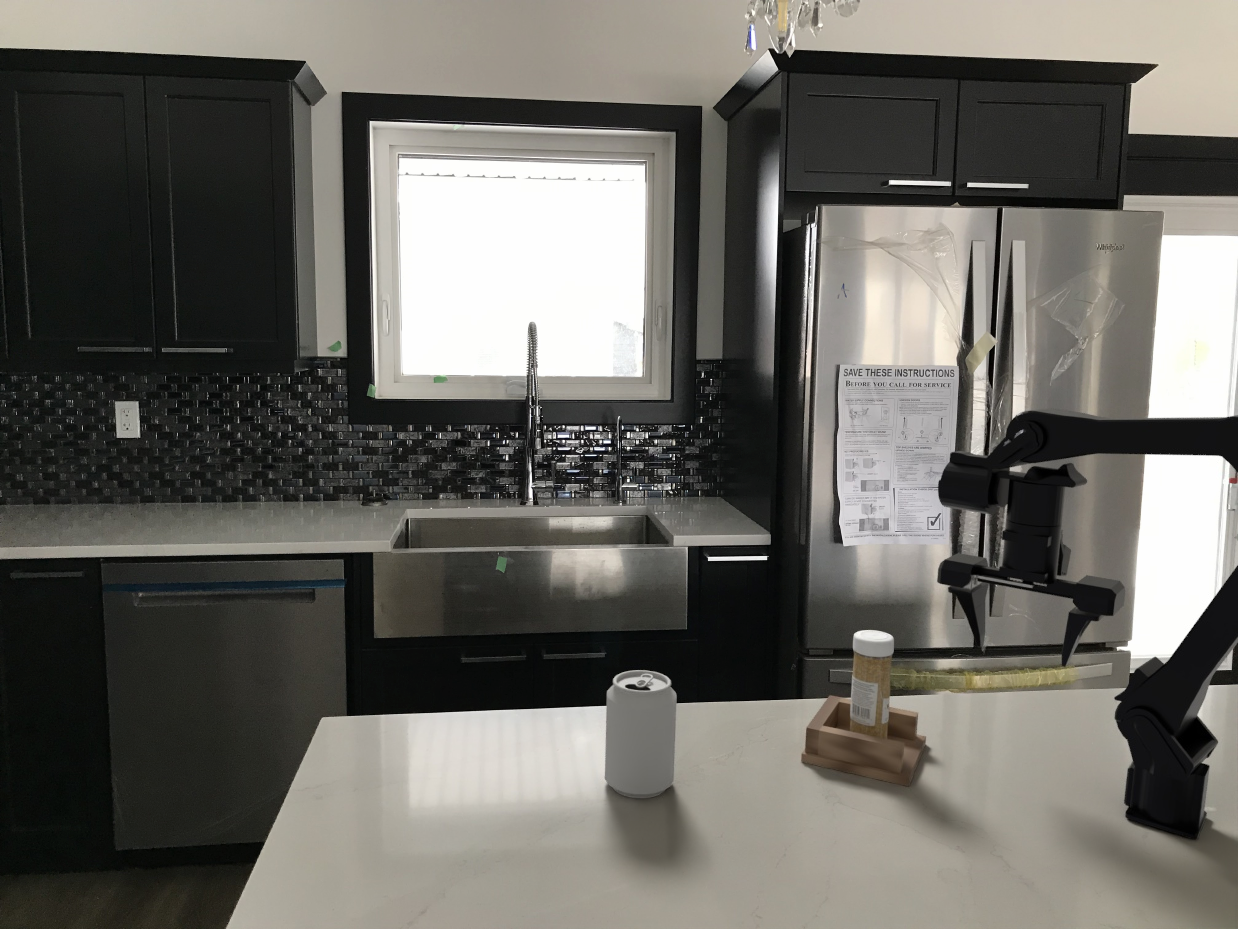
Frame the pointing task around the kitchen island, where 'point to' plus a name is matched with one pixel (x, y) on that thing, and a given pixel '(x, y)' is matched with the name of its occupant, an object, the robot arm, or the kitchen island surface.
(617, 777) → the can
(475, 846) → the kitchen island surface
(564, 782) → the kitchen island surface
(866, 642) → the sprinkles bottle
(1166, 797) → the robot arm
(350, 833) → the kitchen island surface
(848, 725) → the walnut cradle
